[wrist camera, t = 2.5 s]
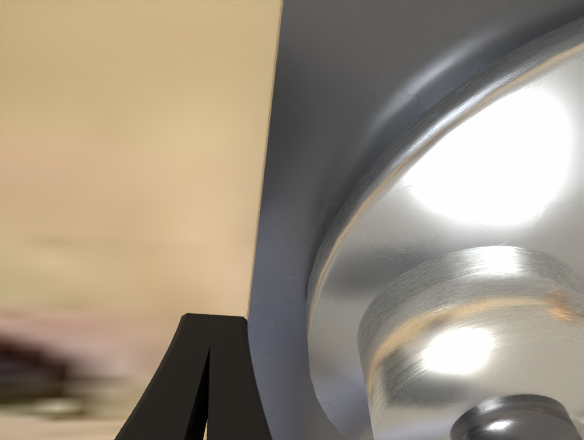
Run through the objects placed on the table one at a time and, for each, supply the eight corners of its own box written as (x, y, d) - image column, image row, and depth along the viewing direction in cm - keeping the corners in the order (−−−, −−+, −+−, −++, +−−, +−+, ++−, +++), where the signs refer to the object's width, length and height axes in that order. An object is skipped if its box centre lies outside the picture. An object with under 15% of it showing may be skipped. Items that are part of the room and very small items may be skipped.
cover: (524, 398, 14) (580, 518, 11) (338, 388, 13) (353, 512, 11) (629, 256, 11) (743, 379, 8) (388, 235, 10) (426, 361, 7)
